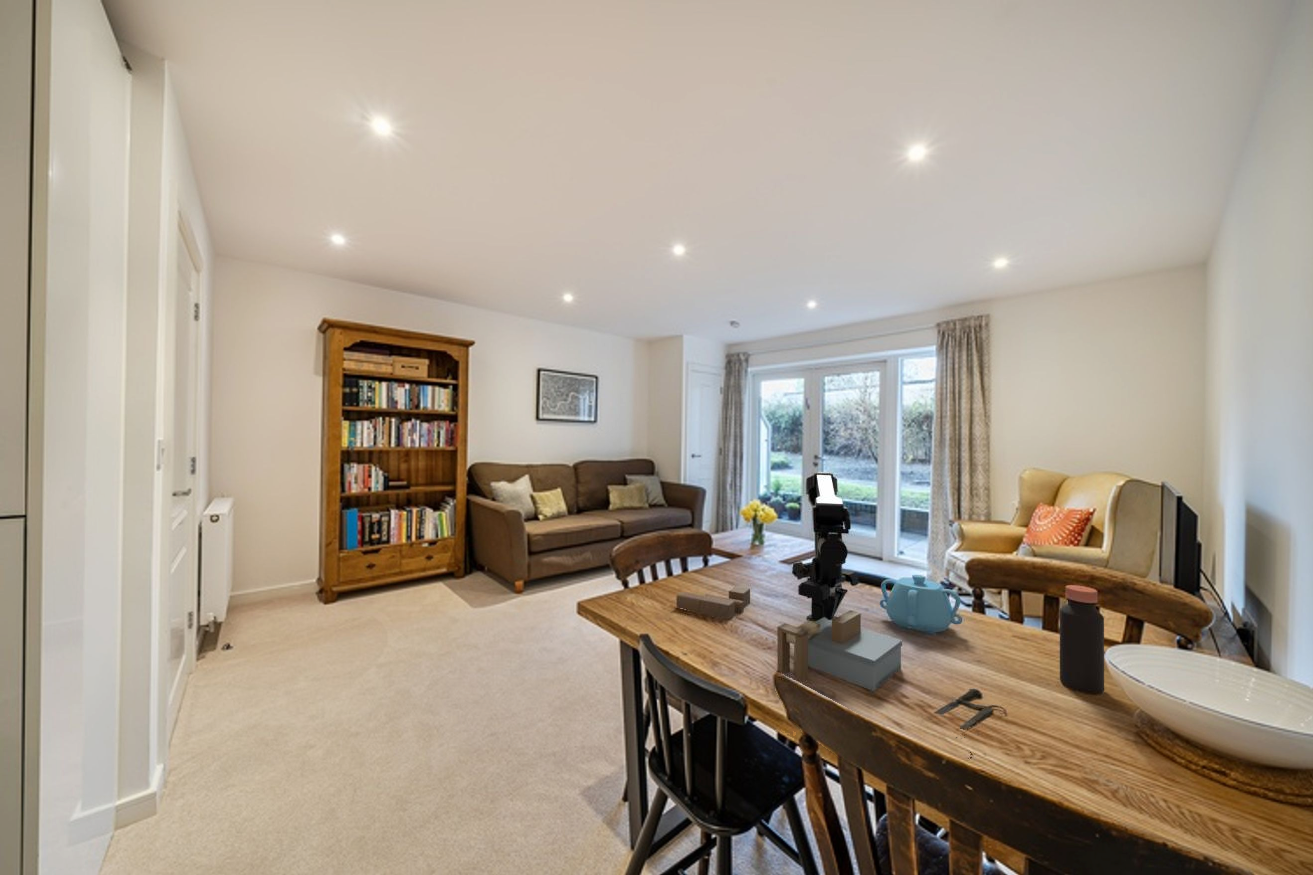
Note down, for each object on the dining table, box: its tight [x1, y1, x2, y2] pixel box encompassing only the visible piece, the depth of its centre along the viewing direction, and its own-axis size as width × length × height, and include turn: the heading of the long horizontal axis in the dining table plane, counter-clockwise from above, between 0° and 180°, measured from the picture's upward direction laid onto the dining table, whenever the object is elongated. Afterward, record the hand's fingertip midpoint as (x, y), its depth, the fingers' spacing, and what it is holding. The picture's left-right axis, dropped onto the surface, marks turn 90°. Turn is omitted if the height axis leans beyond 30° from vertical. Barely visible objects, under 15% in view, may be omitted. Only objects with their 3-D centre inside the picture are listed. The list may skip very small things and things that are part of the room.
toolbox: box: [776, 623, 902, 692], centre depth 105 cm, size 21×18×10 cm
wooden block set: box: [675, 586, 751, 621], centre depth 145 cm, size 17×6×18 cm
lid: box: [808, 610, 903, 667], centre depth 107 cm, size 14×18×7 cm
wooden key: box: [786, 620, 820, 645], centre depth 106 cm, size 10×2×2 cm, turn 133°
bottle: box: [1059, 584, 1105, 695], centre depth 97 cm, size 7×7×20 cm
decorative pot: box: [879, 574, 963, 635], centre depth 129 cm, size 16×16×14 cm
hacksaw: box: [933, 688, 1007, 760], centre depth 85 cm, size 24×10×2 cm, turn 121°
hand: (829, 619), depth 114 cm, fingers closed
